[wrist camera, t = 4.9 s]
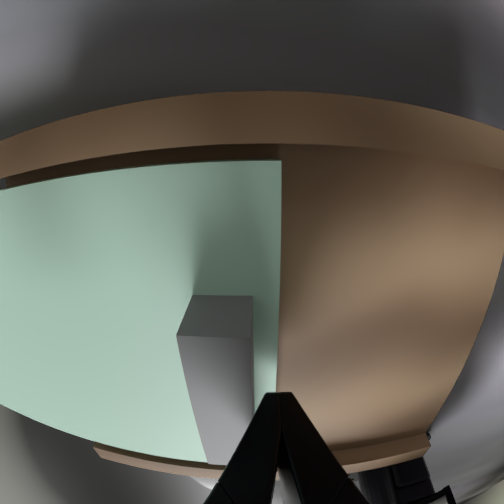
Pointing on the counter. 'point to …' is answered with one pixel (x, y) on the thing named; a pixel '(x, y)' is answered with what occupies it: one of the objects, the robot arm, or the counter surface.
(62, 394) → the lid
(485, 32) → the counter surface
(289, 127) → the box
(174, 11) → the counter surface
